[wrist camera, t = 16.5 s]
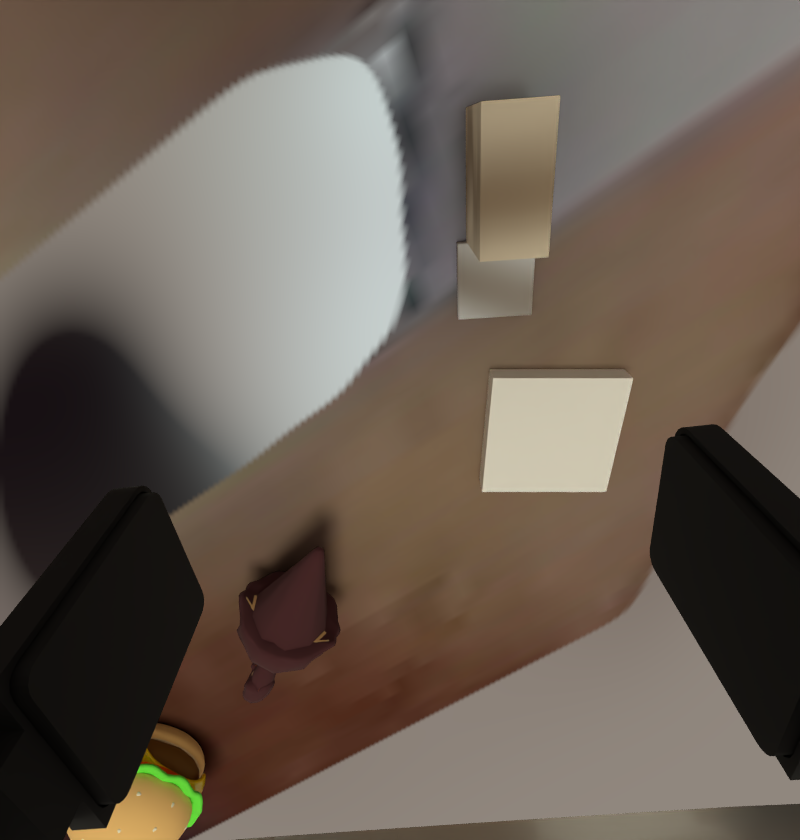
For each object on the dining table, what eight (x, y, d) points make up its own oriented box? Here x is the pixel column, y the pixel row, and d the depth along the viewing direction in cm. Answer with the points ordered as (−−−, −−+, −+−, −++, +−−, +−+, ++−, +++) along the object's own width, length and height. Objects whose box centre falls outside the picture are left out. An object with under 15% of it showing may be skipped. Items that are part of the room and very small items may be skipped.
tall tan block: (455, 108, 24) (468, 102, 20) (541, 101, 24) (573, 94, 19) (457, 316, 29) (468, 348, 24) (528, 311, 29) (553, 343, 24)
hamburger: (145, 694, 45) (95, 805, 38) (243, 753, 50) (216, 863, 43) (63, 741, 49) (3, 852, 41) (162, 793, 54) (124, 901, 46)
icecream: (237, 560, 29) (195, 690, 37) (353, 621, 29) (286, 738, 37) (291, 490, 35) (245, 615, 43) (388, 540, 35) (323, 656, 43)
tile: (493, 378, 29) (482, 491, 33) (633, 378, 29) (606, 491, 33) (488, 366, 31) (478, 476, 35) (621, 366, 31) (596, 476, 35)
